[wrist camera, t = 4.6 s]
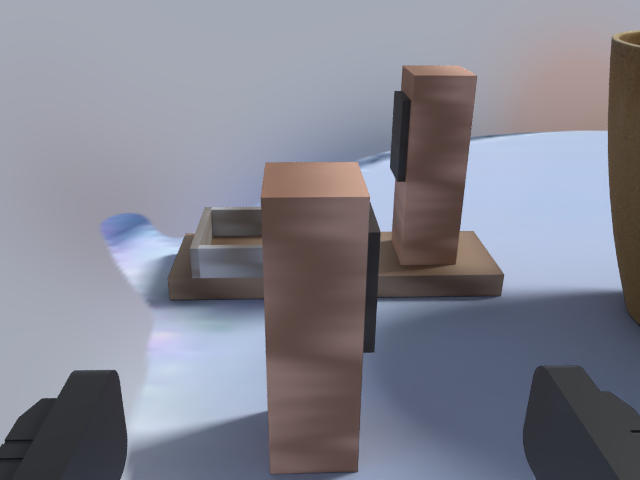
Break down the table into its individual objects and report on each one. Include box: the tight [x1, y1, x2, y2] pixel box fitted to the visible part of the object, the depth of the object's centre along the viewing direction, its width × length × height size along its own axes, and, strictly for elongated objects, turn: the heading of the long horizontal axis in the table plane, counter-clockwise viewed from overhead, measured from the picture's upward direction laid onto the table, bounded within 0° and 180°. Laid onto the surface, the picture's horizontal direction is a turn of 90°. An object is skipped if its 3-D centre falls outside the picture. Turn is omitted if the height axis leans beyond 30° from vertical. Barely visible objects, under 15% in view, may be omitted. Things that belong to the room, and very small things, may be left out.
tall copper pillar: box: [261, 162, 381, 474], centre depth 24 cm, size 4×4×12 cm
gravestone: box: [168, 66, 504, 300], centre depth 38 cm, size 21×7×14 cm, turn 93°
